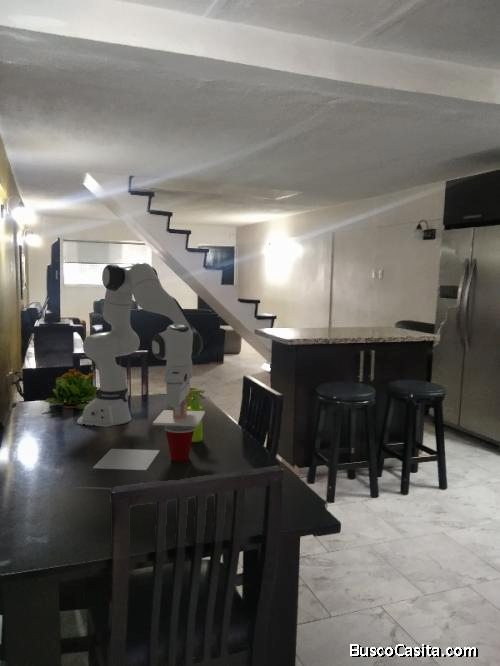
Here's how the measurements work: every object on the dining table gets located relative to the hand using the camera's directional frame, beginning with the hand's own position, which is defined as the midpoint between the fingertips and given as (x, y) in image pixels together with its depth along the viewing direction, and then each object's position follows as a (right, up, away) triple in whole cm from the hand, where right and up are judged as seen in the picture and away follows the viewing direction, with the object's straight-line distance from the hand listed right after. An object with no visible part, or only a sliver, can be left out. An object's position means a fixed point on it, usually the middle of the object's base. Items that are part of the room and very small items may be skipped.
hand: (179, 412), depth 172 cm
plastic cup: (0, -17, +2) cm, 17 cm away
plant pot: (-5, -9, +63) cm, 64 cm away
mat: (-18, -17, +1) cm, 25 cm away
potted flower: (-61, -8, +68) cm, 92 cm away
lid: (0, -2, 0) cm, 2 cm away
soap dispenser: (+3, -15, +22) cm, 26 cm away
